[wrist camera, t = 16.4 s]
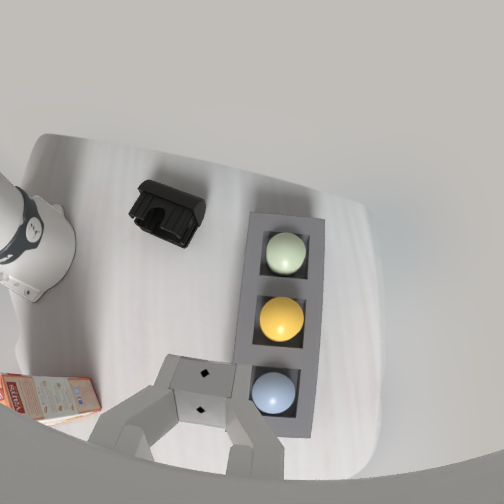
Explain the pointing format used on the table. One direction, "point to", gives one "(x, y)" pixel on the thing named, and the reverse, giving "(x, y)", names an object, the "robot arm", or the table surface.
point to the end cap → (168, 212)
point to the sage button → (285, 254)
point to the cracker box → (48, 397)
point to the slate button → (273, 392)
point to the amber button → (281, 319)
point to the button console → (301, 291)
